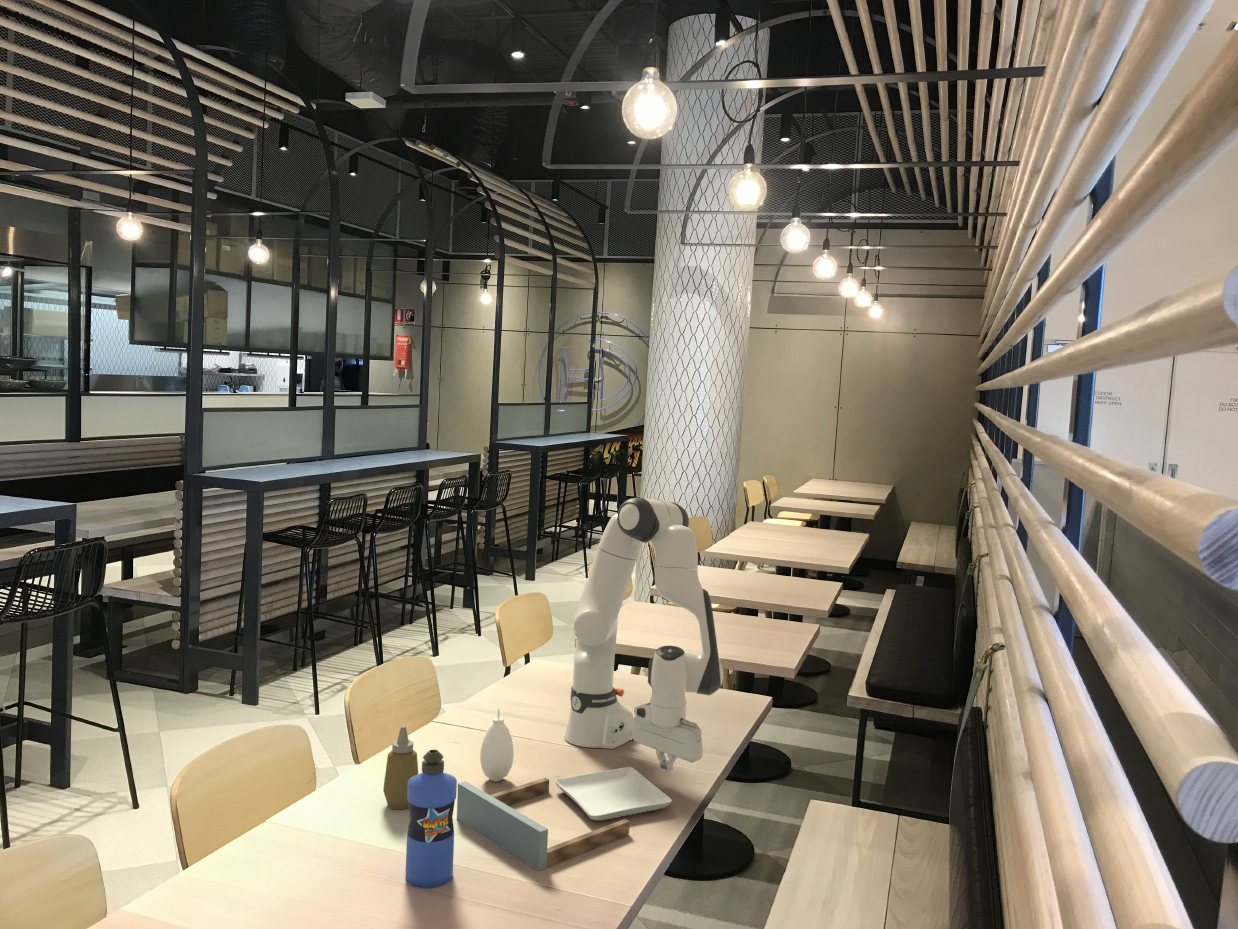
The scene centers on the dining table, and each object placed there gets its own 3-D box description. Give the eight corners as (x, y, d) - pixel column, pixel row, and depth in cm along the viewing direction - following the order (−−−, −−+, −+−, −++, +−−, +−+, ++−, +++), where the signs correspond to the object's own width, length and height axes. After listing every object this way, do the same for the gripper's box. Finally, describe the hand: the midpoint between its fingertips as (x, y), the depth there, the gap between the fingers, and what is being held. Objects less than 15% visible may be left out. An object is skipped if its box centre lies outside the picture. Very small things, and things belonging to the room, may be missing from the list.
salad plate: (590, 830, 209) (591, 815, 208) (552, 792, 227) (553, 778, 227) (674, 814, 218) (674, 800, 218) (630, 779, 237) (631, 765, 237)
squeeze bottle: (425, 800, 219) (428, 724, 217) (406, 815, 211) (409, 736, 210) (395, 794, 221) (397, 718, 220) (375, 808, 214) (377, 730, 212)
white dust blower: (518, 781, 232) (521, 708, 231) (493, 789, 226) (496, 715, 225) (498, 771, 237) (500, 700, 236) (473, 779, 232) (475, 707, 230)
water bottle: (400, 868, 188) (404, 745, 186) (447, 861, 192) (451, 740, 190) (409, 892, 179) (413, 763, 177) (458, 884, 183) (463, 757, 181)
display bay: (544, 789, 228) (546, 757, 227) (628, 834, 207) (630, 799, 206) (456, 818, 210) (457, 783, 210) (538, 870, 189) (540, 831, 189)
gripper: (709, 722, 228) (707, 778, 229) (645, 701, 242) (644, 754, 243) (692, 728, 223) (690, 785, 224) (629, 706, 237) (627, 760, 238)
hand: (666, 769), depth 234 cm, fingers closed
